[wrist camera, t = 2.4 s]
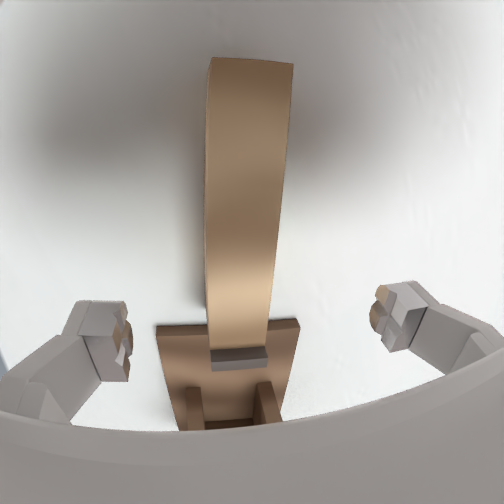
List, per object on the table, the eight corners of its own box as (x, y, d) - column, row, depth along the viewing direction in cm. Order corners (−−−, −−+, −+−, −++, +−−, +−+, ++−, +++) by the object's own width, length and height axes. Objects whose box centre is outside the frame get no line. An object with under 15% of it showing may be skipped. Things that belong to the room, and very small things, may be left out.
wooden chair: (156, 326, 20) (150, 495, 9) (296, 318, 22) (359, 466, 11) (180, 427, 27) (188, 530, 16) (273, 420, 29) (301, 517, 18)
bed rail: (208, 70, 13) (213, 53, 8) (266, 73, 13) (301, 61, 9) (205, 309, 20) (211, 371, 15) (250, 307, 20) (266, 367, 16)
